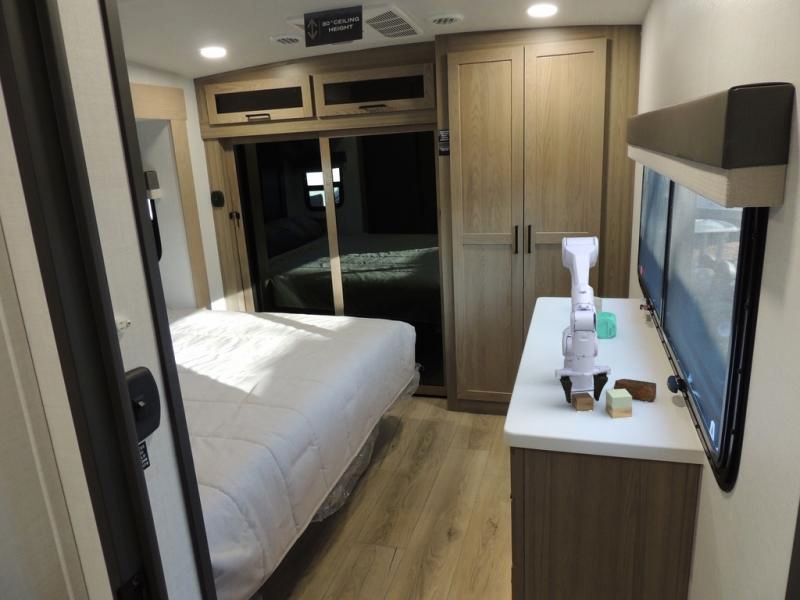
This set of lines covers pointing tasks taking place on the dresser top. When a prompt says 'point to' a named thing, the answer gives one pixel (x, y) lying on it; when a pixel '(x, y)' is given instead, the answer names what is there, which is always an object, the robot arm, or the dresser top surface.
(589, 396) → the walnut block
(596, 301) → the product box
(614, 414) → the oak block
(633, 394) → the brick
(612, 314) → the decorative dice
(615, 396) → the sage block
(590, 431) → the dresser top surface
